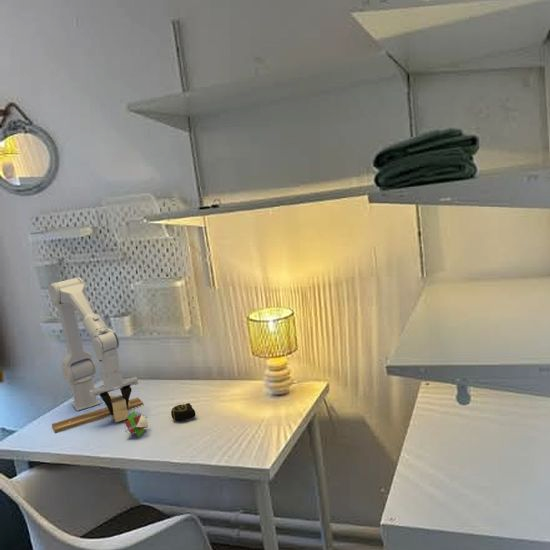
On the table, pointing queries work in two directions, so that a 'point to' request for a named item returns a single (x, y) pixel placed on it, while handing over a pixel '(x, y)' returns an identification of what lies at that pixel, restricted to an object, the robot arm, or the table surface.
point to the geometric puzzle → (136, 424)
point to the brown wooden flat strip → (90, 417)
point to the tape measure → (182, 412)
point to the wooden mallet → (119, 408)
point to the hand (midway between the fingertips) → (119, 412)
